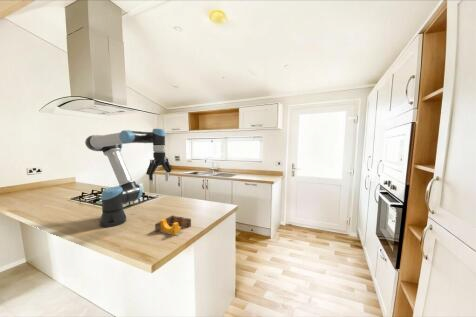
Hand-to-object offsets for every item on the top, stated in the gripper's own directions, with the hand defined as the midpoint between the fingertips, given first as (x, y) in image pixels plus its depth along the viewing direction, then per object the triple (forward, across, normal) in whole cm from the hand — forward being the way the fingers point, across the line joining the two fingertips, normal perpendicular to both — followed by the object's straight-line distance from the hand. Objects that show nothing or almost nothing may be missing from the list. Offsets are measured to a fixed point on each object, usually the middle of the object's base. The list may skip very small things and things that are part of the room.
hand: (160, 183), depth 127 cm
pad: (+27, -10, -18) cm, 34 cm away
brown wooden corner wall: (+27, -6, -16) cm, 32 cm away
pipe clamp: (+27, -10, -17) cm, 33 cm away
